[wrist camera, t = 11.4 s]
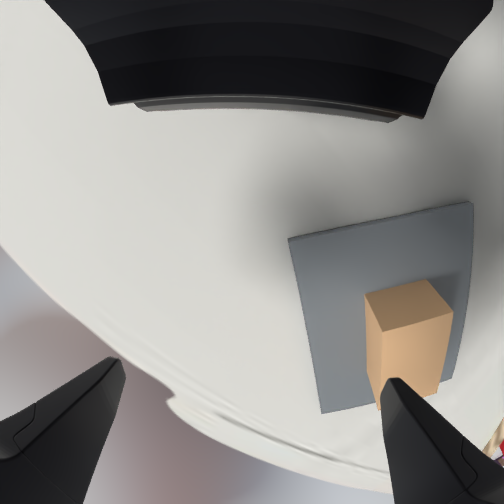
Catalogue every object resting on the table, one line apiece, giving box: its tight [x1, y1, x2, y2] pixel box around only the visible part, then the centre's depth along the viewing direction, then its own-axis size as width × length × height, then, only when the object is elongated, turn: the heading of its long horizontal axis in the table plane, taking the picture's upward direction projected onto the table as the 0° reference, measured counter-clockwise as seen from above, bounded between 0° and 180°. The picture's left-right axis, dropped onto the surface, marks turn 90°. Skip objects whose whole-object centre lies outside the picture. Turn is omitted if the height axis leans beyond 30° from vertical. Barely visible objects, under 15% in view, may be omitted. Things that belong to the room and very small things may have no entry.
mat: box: [288, 202, 474, 414], centre depth 21 cm, size 18×14×1 cm
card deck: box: [364, 279, 453, 410], centre depth 19 cm, size 5×8×4 cm, turn 14°
